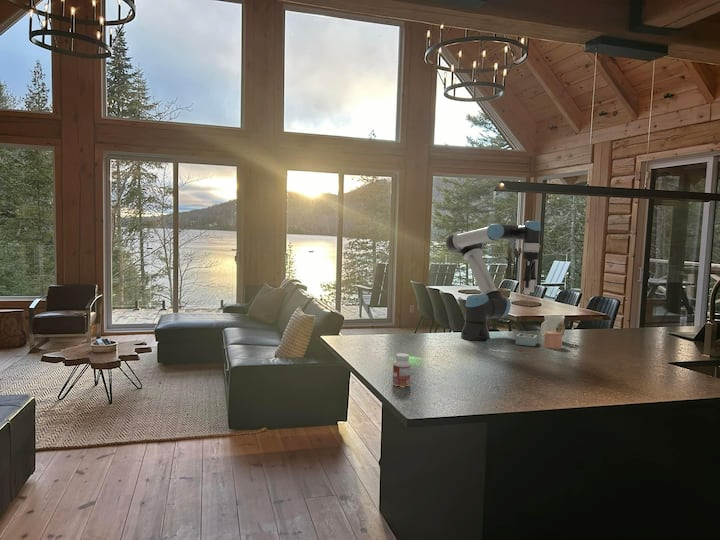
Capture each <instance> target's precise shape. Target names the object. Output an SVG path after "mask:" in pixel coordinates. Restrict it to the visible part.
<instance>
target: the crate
mask: <svg viewBox="0 0 720 540" xmlns="http://www.w3.org/2000/svg"><path fill="white" fill-rule="evenodd" d="M522 335H530V336H531V337H525V336H522ZM537 344H538V334H531V333H521V332H520V333H517V334H516V335H515V345H521V346H530V347H535V346H536V345H537Z"/></svg>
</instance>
